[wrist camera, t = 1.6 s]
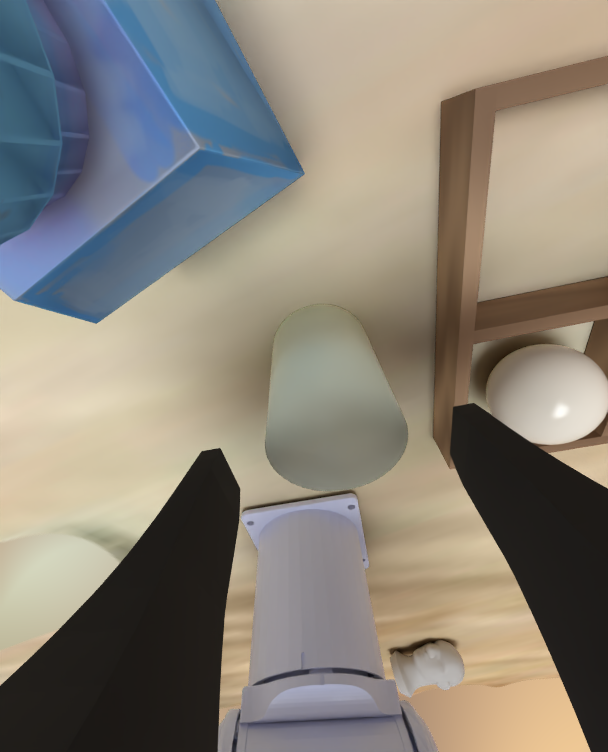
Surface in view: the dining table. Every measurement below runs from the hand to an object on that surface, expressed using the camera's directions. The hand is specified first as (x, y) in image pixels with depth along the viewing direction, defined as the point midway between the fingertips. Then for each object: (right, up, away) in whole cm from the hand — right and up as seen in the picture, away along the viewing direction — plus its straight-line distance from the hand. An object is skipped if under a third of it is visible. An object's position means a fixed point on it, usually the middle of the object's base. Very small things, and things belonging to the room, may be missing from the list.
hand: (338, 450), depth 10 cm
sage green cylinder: (0, +4, +6) cm, 7 cm away
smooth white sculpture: (+13, -29, +28) cm, 42 cm away
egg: (+10, +3, +7) cm, 12 cm away
